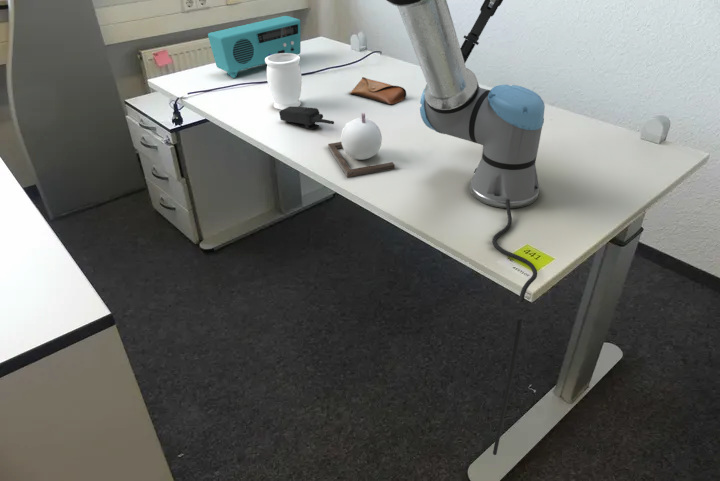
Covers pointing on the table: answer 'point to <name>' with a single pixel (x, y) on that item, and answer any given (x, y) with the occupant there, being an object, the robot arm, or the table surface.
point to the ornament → (361, 138)
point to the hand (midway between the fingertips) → (456, 67)
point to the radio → (255, 43)
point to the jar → (284, 79)
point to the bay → (357, 171)
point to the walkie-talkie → (303, 117)
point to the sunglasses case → (379, 91)
